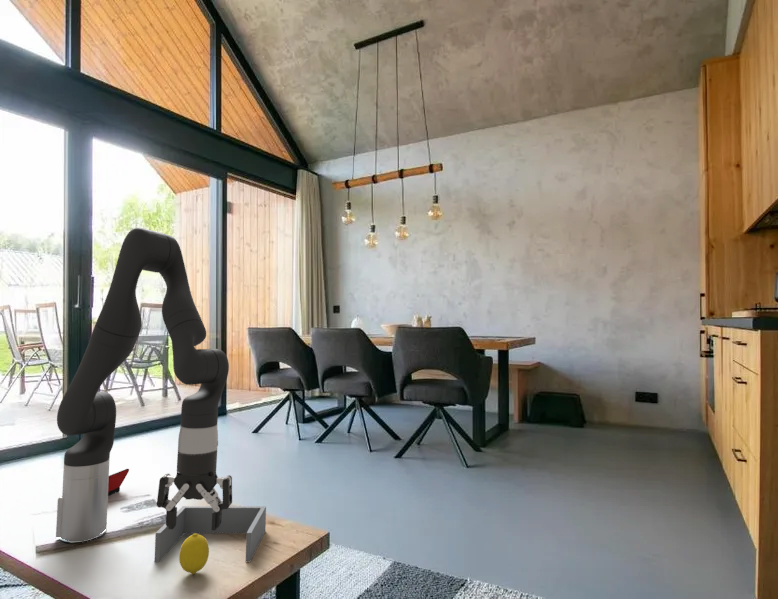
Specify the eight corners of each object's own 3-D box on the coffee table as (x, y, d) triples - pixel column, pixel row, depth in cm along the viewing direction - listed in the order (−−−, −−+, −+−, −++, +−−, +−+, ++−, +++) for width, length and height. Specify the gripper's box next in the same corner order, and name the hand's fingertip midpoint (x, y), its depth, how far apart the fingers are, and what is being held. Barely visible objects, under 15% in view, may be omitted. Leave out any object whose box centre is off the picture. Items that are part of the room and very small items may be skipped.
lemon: (197, 582, 94) (199, 540, 94) (172, 579, 95) (174, 538, 96) (213, 568, 100) (214, 529, 100) (189, 565, 101) (190, 526, 101)
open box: (154, 562, 102) (155, 533, 102) (181, 531, 117) (182, 506, 117) (250, 561, 103) (251, 532, 103) (265, 531, 118) (266, 506, 118)
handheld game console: (99, 489, 146) (100, 464, 146) (129, 493, 143) (130, 467, 143) (62, 504, 133) (63, 477, 134) (94, 508, 131) (96, 480, 131)
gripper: (154, 451, 94) (149, 536, 94) (227, 453, 95) (223, 537, 94) (170, 441, 102) (165, 520, 101) (238, 443, 102) (234, 521, 102)
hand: (193, 528), depth 98 cm, fingers open, 8 cm apart
